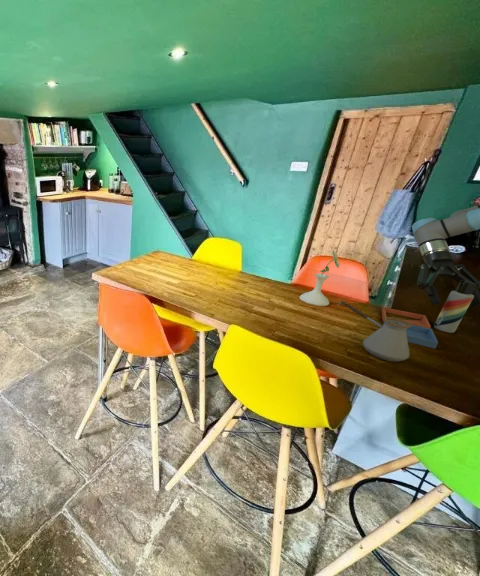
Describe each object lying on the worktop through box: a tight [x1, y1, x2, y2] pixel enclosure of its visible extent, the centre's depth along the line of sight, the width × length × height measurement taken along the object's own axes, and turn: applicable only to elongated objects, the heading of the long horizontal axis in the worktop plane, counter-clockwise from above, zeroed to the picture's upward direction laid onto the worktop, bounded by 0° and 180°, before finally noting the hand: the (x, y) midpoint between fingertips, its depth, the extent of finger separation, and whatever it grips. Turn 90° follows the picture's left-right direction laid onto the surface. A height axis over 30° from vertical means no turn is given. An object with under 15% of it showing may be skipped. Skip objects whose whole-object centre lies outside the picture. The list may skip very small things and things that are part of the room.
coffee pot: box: [337, 300, 411, 362], centre depth 100 cm, size 21×12×15 cm, turn 44°
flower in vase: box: [299, 250, 341, 307], centre depth 135 cm, size 13×11×25 cm
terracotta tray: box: [380, 306, 432, 329], centre depth 121 cm, size 13×12×2 cm
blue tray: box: [382, 321, 439, 350], centre depth 111 cm, size 13×12×2 cm
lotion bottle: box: [433, 280, 476, 334], centre depth 112 cm, size 6×6×20 cm
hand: (456, 304), depth 111 cm, fingers open, 13 cm apart
